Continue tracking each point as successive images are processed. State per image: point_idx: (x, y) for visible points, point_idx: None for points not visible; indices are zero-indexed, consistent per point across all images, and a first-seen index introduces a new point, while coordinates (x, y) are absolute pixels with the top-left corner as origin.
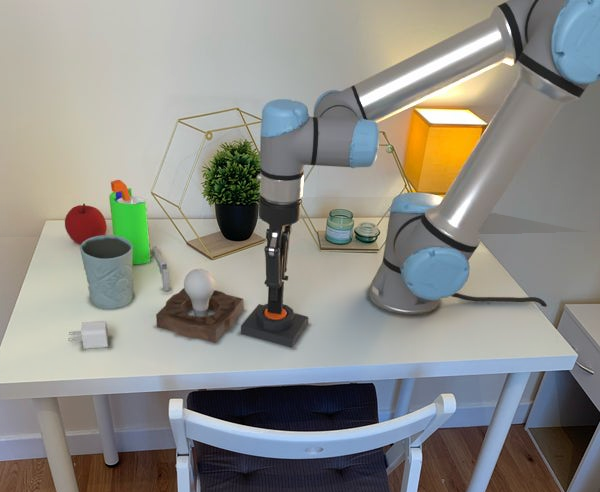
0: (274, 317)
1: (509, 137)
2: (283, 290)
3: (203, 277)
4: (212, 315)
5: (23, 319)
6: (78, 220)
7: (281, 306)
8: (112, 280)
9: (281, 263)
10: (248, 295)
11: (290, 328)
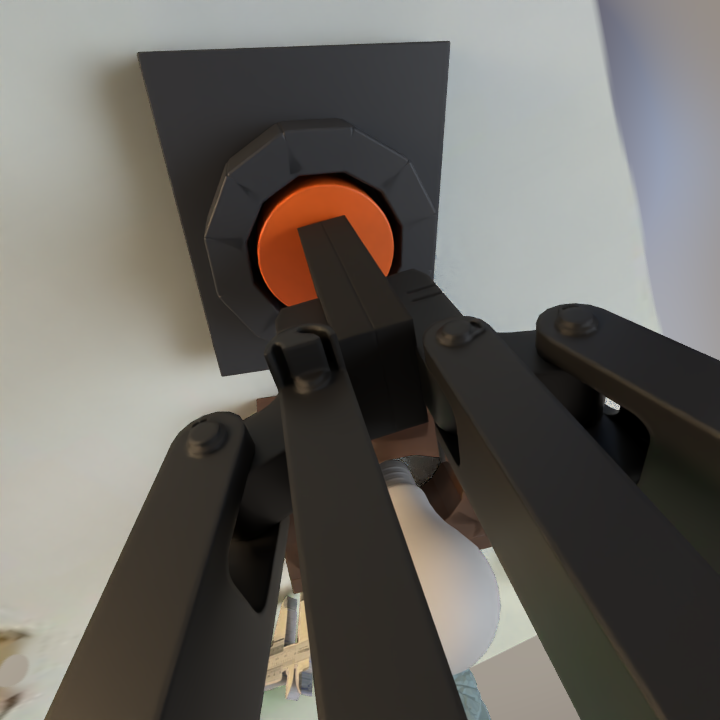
0: (382, 234)
1: None
2: (321, 294)
3: (477, 631)
4: (437, 452)
5: (523, 637)
6: None
7: (346, 235)
8: (468, 686)
9: (710, 571)
10: (132, 445)
11: (345, 113)
